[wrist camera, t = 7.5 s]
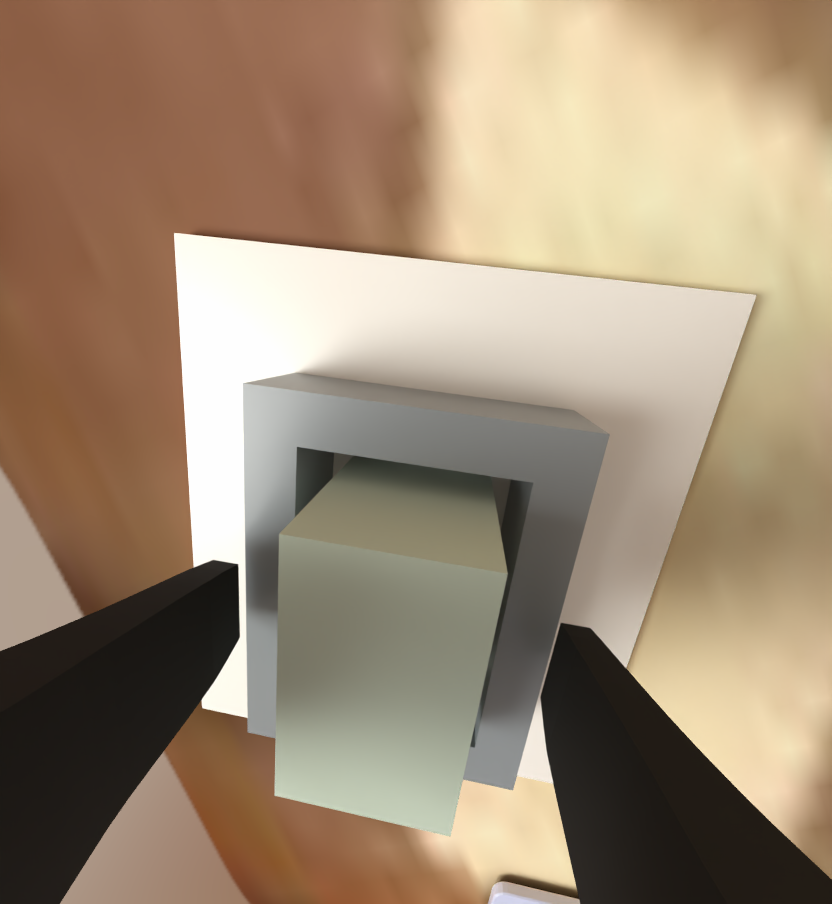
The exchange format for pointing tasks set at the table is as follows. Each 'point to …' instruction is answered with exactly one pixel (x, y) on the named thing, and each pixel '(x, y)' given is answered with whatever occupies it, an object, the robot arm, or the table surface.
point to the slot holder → (449, 437)
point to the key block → (386, 640)
